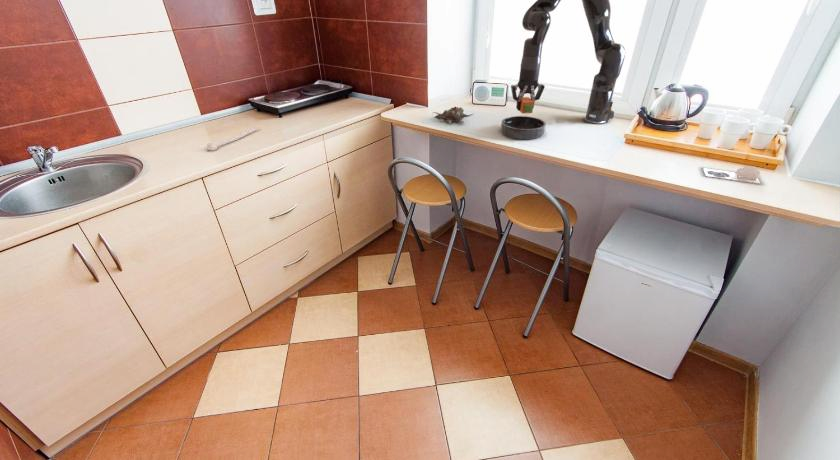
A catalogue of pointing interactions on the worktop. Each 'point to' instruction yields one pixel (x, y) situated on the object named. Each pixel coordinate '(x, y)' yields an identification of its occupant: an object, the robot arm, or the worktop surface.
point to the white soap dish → (736, 174)
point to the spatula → (213, 145)
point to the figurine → (452, 115)
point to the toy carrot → (526, 105)
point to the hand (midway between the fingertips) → (524, 109)
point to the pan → (523, 127)
